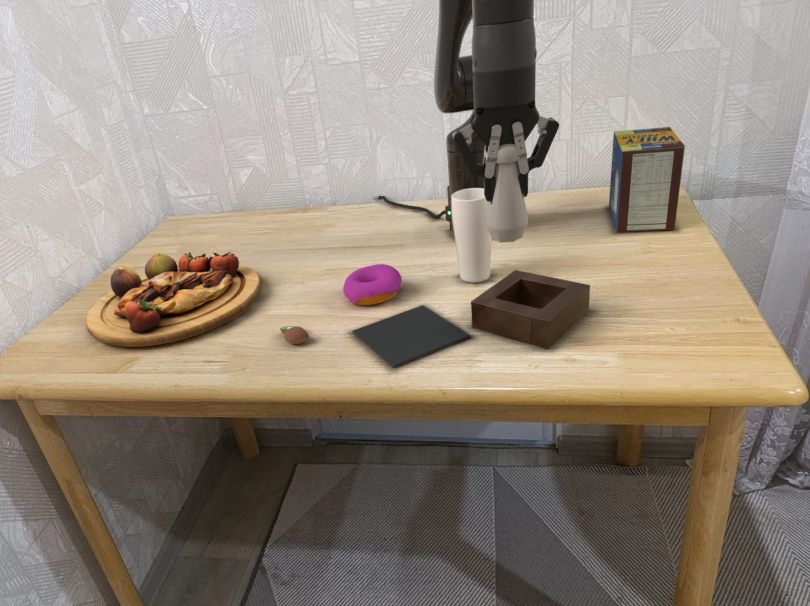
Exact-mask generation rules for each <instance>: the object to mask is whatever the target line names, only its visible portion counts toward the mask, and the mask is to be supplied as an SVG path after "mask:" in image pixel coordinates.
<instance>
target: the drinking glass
mask: <svg viewBox="0 0 810 606" xmlns="http://www.w3.org/2000/svg"><path fill="white" fill-rule="evenodd" d="M487 208H488V201H487V200H486V198H485V196H484V188H469V189H463V190H459V191H457V192H455V193H453V194H452V196H451V210H452V222H453V229H454V236H455V237H454V241H455V248H456V249H455V250H456V255H457V262H458V263H457V264H458V273H459V279H460V280H462V282H465V283H470V284H477V283H483V282H485V281H487V280H489V278H490V276H491V261H492V260H491V257H492V240H493V239H492V238H491V236H490V234H489V232H488V230H487V228H486V224H485V222H486V215H487Z"/></svg>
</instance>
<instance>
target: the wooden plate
mask: <svg viewBox="0 0 810 606" xmlns="http://www.w3.org/2000/svg"><path fill="white" fill-rule="evenodd" d="M212 254H213V255H214V256H209V257H208V256H207V254H206V253H203V254H201V255H196V256H193V255H192V253H191V251H189V252H187V253H184V254H183V255H181V257H180V258H179V260H178V262H177V261H176V260H175V259H174V258H173V257H171V256H170V255H167V254H162V253H159V252H156V253H154V255H152V256H151V257H150V258H149V259H148V261H147V262H146V263H145V266H144V275H142V276H140V275H139V274H138V273H137V272H136V271H134V270H133V269H132V268H129V267H125V266H121V265H119V266H118V267H117V268H115V270H113V272H112V274H111V276H110V288H111V291H109V292H107V293H106V294H105V295H103V296H102V297H101V298H100V299H97V301H96V302H94V304H93V305H92V306H91V308H90V309H89V310H88V312H87V313H86V318H85V327H86V330H87V332H88V333H89V335H90V336H91V337H92V338H94V339H95V340H97V342H101V343H103V344H106V345H111V346H115V347H125V348H126V347H128V348H129V347H130V348H132V347H133V348H137V347H139V348H140V347H150V346H158V345H164V344H165V345H166V344H170V343H174V342H178V341H183V340H185V339H189V338H193V337H196V336H199V335H202V334H205V333H206V332H209V331H212V330H214V329H216V328H218V327H220V326H222V325H224V324H226V323H228V322H230V321H232V320H234V319H235V318H237V317H238V316H240V315H241V314H242V313H244V312H245V311H246V310H248V309H249V308H250V307H251V306H252V305H253V304H254V303H255V301H256V300H258V297H259V296H260V294H261V291H262V287H263V286H262V284H263V283H262V279H261V276H260V274H259V273H258V272H257V271H256V270H255V269H254V268H252V267H250V266H248V265H247V264H245V263H244V264H243V263H240V260H239V258H238V256H237V255H235V253H233V252H231V251H229V252H226V253H225V254H222V255H220V254H219V253H217V252H212ZM177 263H178V264H177Z"/></svg>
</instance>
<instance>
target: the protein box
mask: <svg viewBox="0 0 810 606" xmlns="http://www.w3.org/2000/svg"><path fill="white" fill-rule="evenodd" d="M685 150H686V145H685V143H683V142H682V140H681V138H679V136H678V135H677V134H676V133H675V131H674V130H673V129H672V128H671V127H670V126H664V127H651V128H639V129H628V130H627V129H626V130H617V131H616V130H615V131H613V136H612V152H611V154H612V155H611V169H610V170H611V171H610V181H609V182H610V184H609V199H608V208H609V211H610V215H611V218H612V223H613V226H614V230H615V233H631V232H655V231H656V232H657V231H674V230H675V229H676V224H677V223H676V222H677V221H676V220H677V213H678V207H679V200H680V199H679V198H680V191H681V183H682V174H683V165H684V158H685Z"/></svg>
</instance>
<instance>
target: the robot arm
mask: <svg viewBox="0 0 810 606" xmlns="http://www.w3.org/2000/svg"><path fill="white" fill-rule="evenodd" d="M534 15H535V1H534V0H438V23H437V38H436V48H435V49H436V50H435V59H434V73H433V95H434V100H435V104H436V107H437V109H438V110H439V112H440V113H442V114H446V115H447V114H456V113H457V114H458V113H464V112H470V111H471V113H470V115H469V117H468V118H467V119H466V121H464V123H462V124H461V125H459V126H458V127H456V128H454V129H453V130H451V131H450V132H448V133H447V135H446V139H445V143H446V145H445V148H446V160H447V161H446V163H447V171H448V172H447V175H448V186H447V187H446V191H447V205H445V206H444V209H443V210H441V212H440V213H438V214H434V212H433V211H431V210H429V209H428V208H426V207H422V206H418V205H417V206H416V205H410V204H409V205H408V204H404V203H399V202H395V201H392V200H389V199H388V198H387V197H386V196H385V195H384V196H382V197H381V196H380V195H379V196H378V197H377V199H378V200H383V201H384V202H385V203H386V204H388V205H391V206H395V207H399V208H403V209H409V210H416V211H421V212H425V213H427V214H428V215H429V216H430V217H431V218H433V219H441V218H442V216H444V215H445V221H446V222H448V223H449V232H451V236H452V237H453V238H455V236H454V229H453V222H452V210H451V196H452V194H453V193H455V192H457V191H459V190H463V189H469V188H484V196H485V198H486V200H487V201H491V205H492V201H493V197H494V192H495V188H496V178H495V177H494V170H495V161H496V160H497V155H498V148H499V146H500V145H505V144H515V147H516V149H517V152H518V157H520V160H518V161H517V162H518V167H519V173H520V175H518V181H519V185H520V189H521V193H522V197H523V194H524V198H527V197H528V195H529V174H530V172H531V171H532V170H534V169H538V168H541V167H542V166H543V164H544V162H545V160H546V157H547V155H548V153H549V151H550V149H551V146H552V144H553V143H554V140H555V138H556V135H557V133H558V131H559V128H560V123H559V122H558V121H557V120H556V119H555V118H553V117H545V116H541V115H540V113H539V111H538V109H537V106H536V105H537V104H536V72H537V71H536V70H537V69H536V66H537V64H536V63H537V55H538V50H537V38H536V28H535V16H534ZM471 22H472V37H471V54H469V55H464V56H460V53H461V49H462V44H463V41H464V38H465V36H466V35H465V34H466V32H467V30H468V29H469V26H470V24H471ZM536 125H537V133H538V134H539V136H538V138H537V140H536V143H535V145H534V147H533V150H532V152H531V154H530V156H529V157H528V153H527V147H526V141H527V139H528V138H529V136H530V135H531V133H532V132H533V130H534V129H535V128H536ZM520 147H521V148H520ZM493 150H494V151H493Z"/></svg>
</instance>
